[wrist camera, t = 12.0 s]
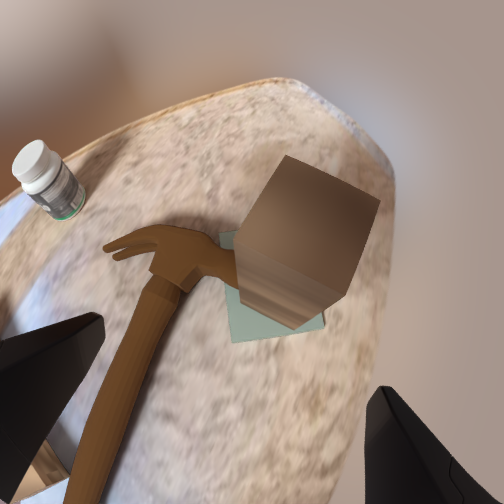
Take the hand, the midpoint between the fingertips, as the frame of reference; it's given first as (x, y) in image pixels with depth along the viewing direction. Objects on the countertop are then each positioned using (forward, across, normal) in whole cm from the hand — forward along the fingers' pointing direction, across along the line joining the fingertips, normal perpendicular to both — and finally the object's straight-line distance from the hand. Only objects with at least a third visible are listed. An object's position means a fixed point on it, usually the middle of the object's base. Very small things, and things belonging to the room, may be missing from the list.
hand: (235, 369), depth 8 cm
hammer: (+6, +9, +14) cm, 18 cm away
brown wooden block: (+14, -2, +4) cm, 14 cm away
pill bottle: (+17, +22, +3) cm, 28 cm away
